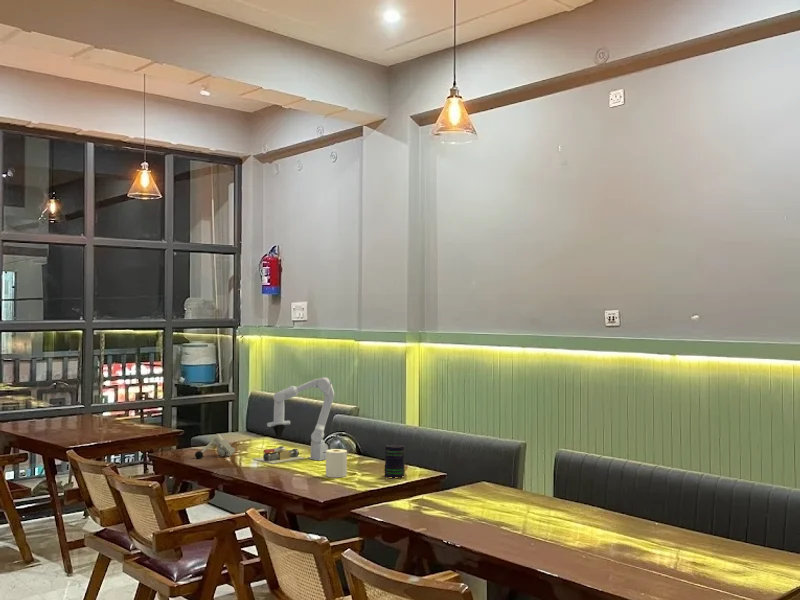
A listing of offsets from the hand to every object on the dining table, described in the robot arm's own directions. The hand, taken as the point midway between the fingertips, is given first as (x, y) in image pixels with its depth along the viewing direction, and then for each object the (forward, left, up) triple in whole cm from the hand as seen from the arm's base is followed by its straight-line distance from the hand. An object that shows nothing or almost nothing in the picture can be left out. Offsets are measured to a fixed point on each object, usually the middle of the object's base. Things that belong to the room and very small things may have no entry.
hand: (278, 438), depth 418 cm
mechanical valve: (+25, +23, -11) cm, 36 cm away
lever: (-5, +7, -5) cm, 10 cm away
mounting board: (-3, +2, -10) cm, 11 cm away
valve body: (-5, +2, -10) cm, 12 cm away
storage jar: (-77, -9, -11) cm, 78 cm away
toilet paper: (-56, +10, -11) cm, 58 cm away
